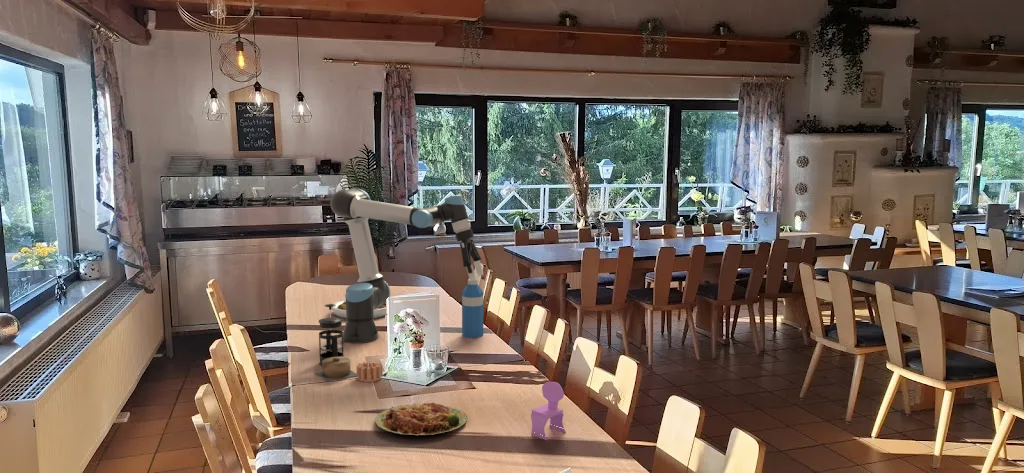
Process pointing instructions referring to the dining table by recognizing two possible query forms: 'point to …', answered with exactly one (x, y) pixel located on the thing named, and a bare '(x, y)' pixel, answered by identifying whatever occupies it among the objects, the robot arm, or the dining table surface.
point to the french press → (330, 337)
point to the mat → (335, 378)
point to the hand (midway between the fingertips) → (477, 277)
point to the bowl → (341, 310)
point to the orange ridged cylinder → (369, 371)
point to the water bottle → (472, 310)
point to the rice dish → (420, 419)
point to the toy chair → (548, 410)
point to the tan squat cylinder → (336, 367)
